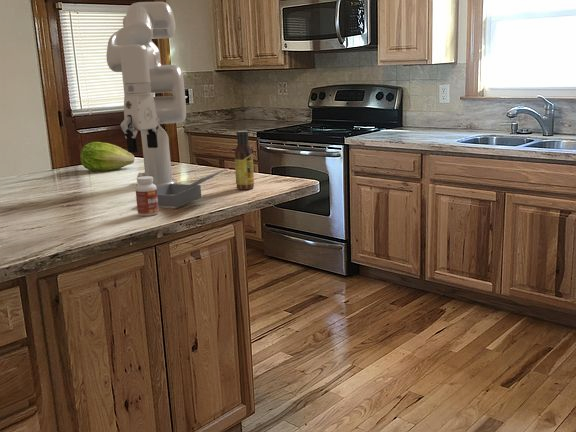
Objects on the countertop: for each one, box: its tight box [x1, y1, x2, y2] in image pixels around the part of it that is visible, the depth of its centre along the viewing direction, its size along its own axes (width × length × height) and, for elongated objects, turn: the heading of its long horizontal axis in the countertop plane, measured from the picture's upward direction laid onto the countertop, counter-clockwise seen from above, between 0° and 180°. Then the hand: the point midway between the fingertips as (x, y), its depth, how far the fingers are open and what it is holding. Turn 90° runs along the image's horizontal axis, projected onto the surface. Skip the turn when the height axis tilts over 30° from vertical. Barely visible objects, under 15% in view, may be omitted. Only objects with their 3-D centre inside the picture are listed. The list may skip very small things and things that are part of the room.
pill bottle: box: [135, 176, 160, 217], centre depth 183 cm, size 6×6×11 cm
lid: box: [175, 168, 229, 194], centre depth 193 cm, size 12×16×1 cm
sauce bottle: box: [234, 130, 255, 191], centre depth 212 cm, size 6×6×20 cm
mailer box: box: [157, 183, 202, 209], centre depth 199 cm, size 12×16×4 cm
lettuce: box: [80, 141, 136, 172], centre depth 261 cm, size 13×22×14 cm
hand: (143, 150), depth 179 cm, fingers open, 9 cm apart
